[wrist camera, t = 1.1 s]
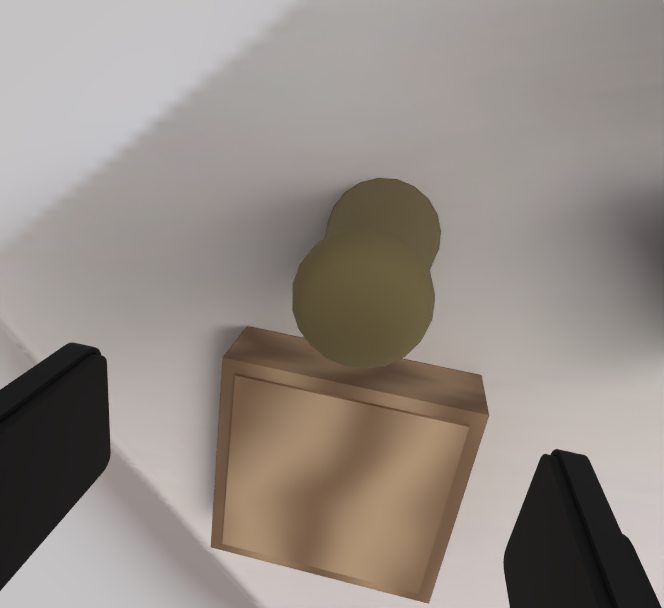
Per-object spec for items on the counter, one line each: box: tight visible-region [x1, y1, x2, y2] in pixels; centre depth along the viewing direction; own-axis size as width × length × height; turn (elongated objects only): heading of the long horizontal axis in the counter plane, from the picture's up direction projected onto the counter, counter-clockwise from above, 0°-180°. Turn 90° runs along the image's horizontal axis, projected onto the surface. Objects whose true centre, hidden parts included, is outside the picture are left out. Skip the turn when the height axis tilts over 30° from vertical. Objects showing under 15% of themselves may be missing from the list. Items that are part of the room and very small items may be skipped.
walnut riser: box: [211, 326, 489, 603], centre depth 31 cm, size 14×14×4 cm
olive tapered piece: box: [292, 178, 441, 369], centre depth 22 cm, size 6×6×11 cm
